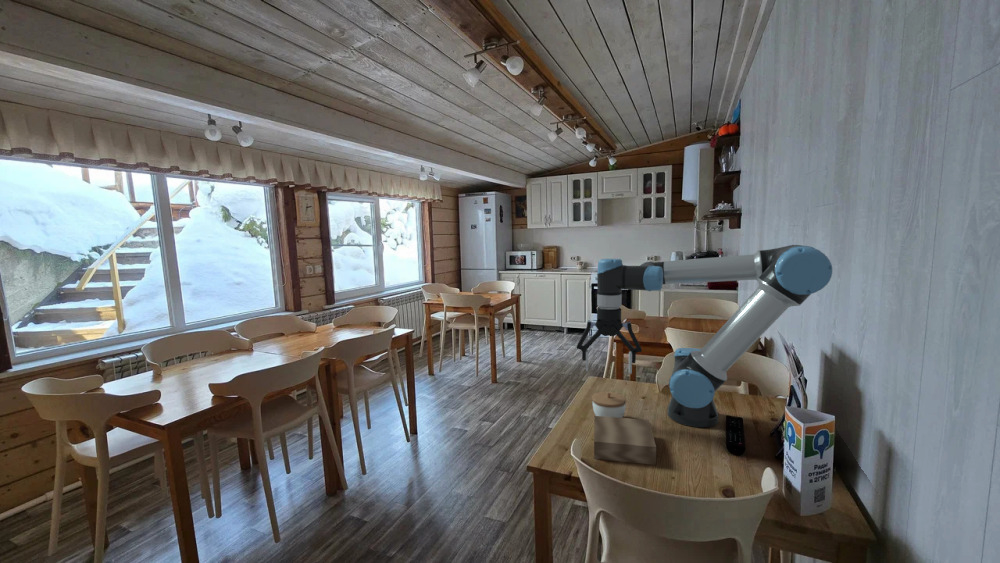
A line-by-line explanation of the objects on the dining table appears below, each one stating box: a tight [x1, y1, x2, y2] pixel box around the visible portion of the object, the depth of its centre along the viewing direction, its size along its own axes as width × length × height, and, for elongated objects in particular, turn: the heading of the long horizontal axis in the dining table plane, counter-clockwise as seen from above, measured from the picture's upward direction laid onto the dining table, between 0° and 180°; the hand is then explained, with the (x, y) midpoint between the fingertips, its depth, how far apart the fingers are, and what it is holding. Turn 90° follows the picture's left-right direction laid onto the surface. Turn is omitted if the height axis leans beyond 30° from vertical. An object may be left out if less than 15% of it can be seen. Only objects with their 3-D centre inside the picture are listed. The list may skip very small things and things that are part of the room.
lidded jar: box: [591, 391, 627, 418], centre depth 134 cm, size 11×11×9 cm
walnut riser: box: [593, 415, 657, 466], centre depth 117 cm, size 16×16×5 cm
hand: (608, 371), depth 133 cm, fingers open, 13 cm apart
